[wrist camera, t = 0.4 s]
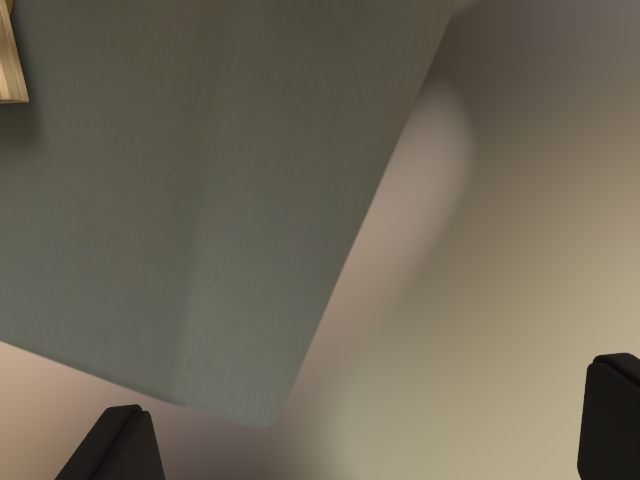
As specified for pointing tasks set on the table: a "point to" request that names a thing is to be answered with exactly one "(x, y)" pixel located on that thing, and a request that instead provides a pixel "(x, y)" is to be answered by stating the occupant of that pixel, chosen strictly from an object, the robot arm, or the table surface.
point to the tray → (10, 63)
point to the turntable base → (9, 6)
